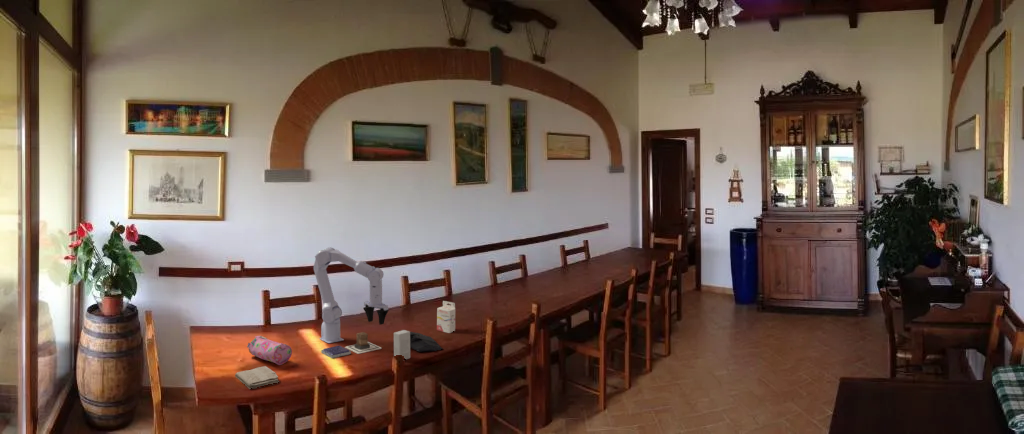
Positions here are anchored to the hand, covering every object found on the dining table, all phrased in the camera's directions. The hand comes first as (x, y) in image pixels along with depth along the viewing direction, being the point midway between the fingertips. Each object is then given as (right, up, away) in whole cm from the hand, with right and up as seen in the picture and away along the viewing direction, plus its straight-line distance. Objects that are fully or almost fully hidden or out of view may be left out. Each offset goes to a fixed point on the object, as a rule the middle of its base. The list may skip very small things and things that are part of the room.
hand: (375, 322), depth 282 cm
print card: (-4, -10, -8) cm, 14 cm away
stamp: (-4, -10, -9) cm, 14 cm away
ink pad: (-14, -11, -16) cm, 24 cm away
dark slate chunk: (+22, -11, -3) cm, 25 cm away
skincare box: (+16, -12, -22) cm, 30 cm away
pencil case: (-40, -12, -26) cm, 49 cm away
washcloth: (-35, -14, -49) cm, 62 cm away
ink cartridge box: (+31, -8, +22) cm, 39 cm away
